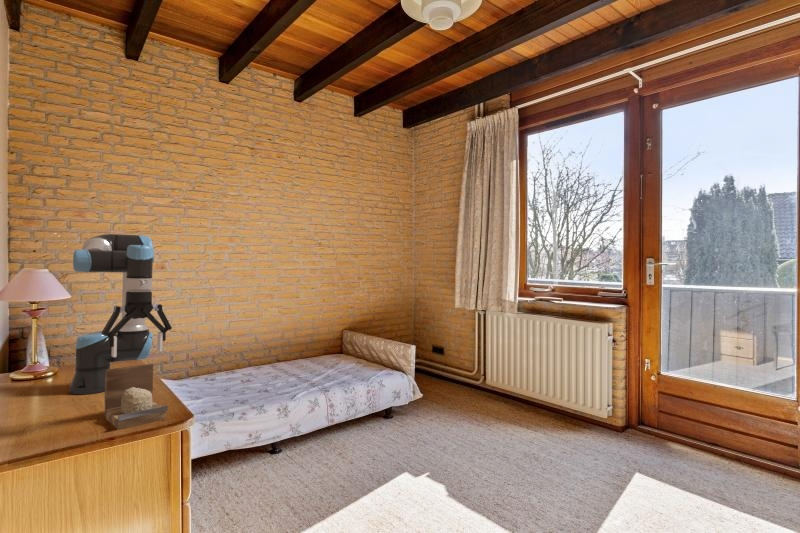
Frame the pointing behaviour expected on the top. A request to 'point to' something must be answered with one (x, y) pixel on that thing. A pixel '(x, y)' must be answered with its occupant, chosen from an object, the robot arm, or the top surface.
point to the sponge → (136, 400)
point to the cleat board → (122, 381)
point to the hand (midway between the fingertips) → (137, 353)
